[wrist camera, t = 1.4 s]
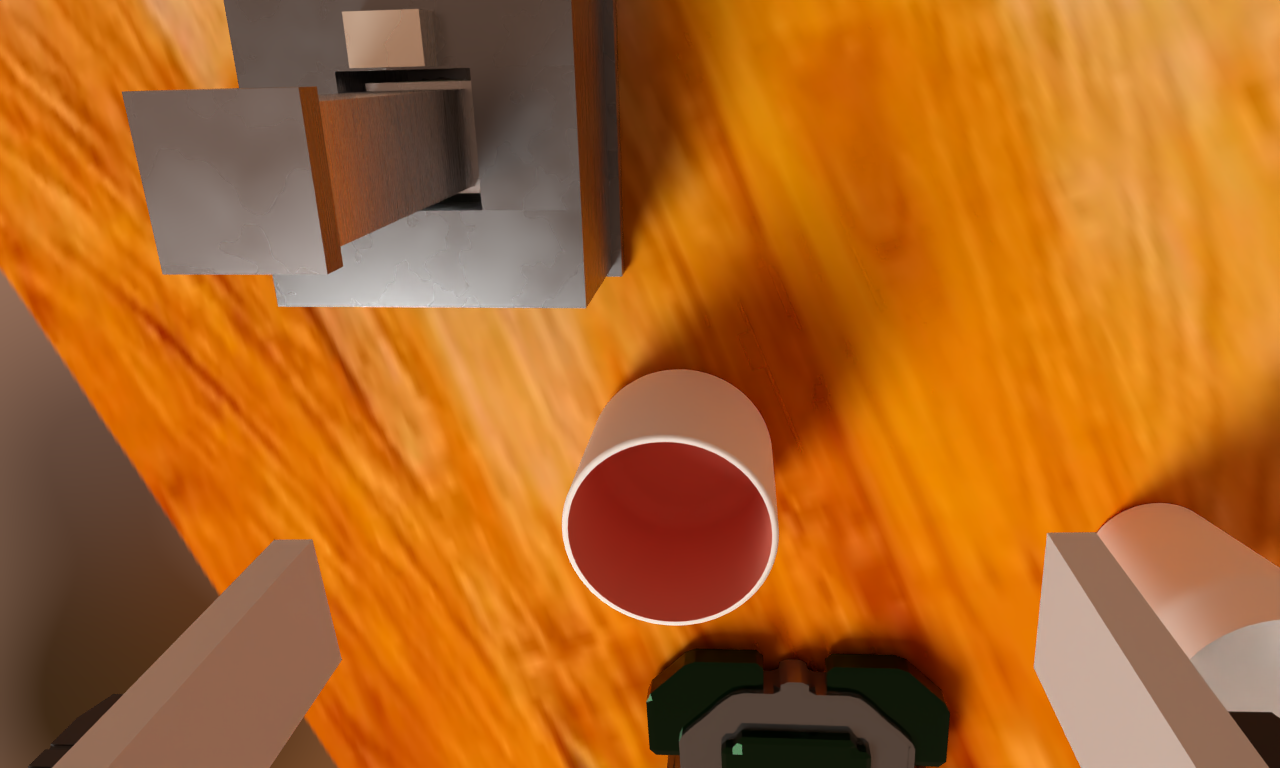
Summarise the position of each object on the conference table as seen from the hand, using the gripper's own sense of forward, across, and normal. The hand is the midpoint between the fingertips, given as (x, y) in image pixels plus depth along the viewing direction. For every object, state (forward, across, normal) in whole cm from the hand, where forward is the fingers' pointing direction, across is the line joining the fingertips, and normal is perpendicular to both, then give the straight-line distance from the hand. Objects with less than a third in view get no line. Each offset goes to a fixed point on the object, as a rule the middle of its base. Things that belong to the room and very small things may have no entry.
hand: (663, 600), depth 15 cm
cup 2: (+31, +23, -19) cm, 43 cm away
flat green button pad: (+31, +3, -34) cm, 46 cm away
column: (+30, -12, +7) cm, 33 cm away
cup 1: (+31, -2, -11) cm, 33 cm away
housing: (+31, -12, +7) cm, 34 cm away
